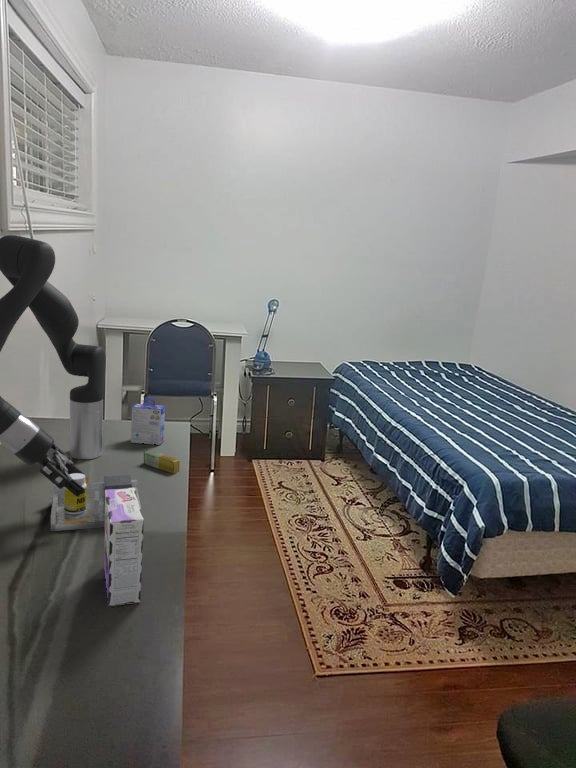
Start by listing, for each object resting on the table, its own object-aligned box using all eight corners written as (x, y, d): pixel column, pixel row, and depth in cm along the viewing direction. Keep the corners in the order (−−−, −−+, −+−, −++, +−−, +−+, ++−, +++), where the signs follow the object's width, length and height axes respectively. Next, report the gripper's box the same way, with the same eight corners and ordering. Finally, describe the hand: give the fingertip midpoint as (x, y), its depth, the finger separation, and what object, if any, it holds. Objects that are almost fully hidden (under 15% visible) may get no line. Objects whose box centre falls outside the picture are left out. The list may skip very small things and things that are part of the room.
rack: (54, 503, 131) (54, 470, 129) (136, 498, 137) (137, 466, 136) (50, 531, 118) (50, 494, 116) (141, 524, 125) (142, 489, 123)
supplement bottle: (78, 516, 122) (78, 481, 120) (59, 513, 123) (59, 478, 121) (90, 508, 127) (91, 474, 125) (72, 504, 128) (72, 471, 126)
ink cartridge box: (164, 440, 182) (166, 398, 179) (160, 445, 177) (162, 402, 174) (135, 437, 182) (136, 396, 179) (130, 443, 177) (131, 400, 174)
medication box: (142, 464, 161) (142, 451, 160) (149, 461, 163) (149, 448, 162) (173, 474, 155) (174, 461, 154) (180, 471, 157) (180, 458, 156)
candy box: (103, 566, 107) (104, 488, 103) (134, 562, 109) (136, 486, 105) (107, 608, 94) (108, 521, 91) (142, 603, 96) (144, 518, 93)
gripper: (35, 437, 111) (94, 486, 118) (41, 417, 124) (93, 462, 131) (7, 463, 111) (68, 510, 117) (15, 440, 124) (70, 484, 130)
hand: (81, 485), depth 124 cm, fingers open, 8 cm apart
